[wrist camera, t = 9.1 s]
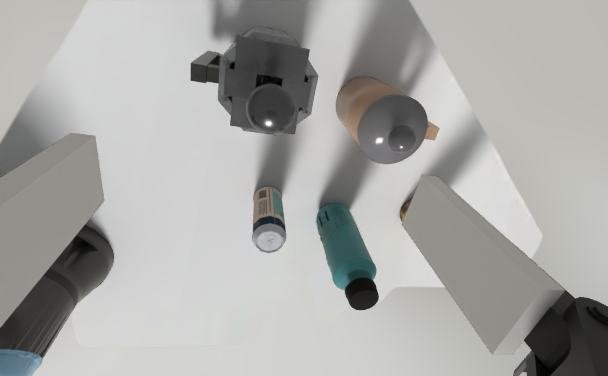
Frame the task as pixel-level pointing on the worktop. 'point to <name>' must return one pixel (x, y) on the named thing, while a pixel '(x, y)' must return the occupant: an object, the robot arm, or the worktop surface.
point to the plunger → (270, 105)
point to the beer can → (268, 220)
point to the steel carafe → (259, 60)
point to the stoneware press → (383, 120)
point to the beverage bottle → (347, 256)
